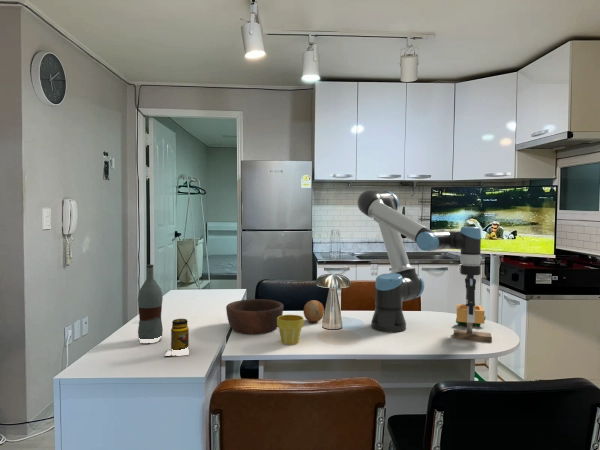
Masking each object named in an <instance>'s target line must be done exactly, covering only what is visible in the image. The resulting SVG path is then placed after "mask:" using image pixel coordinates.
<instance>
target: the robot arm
mask: <svg viewBox="0 0 600 450" xmlns="http://www.w3.org/2000/svg"><path fill="white" fill-rule="evenodd" d="M356 203H357V207H358V208H357V209H358V210H359V211H360V213H362V214H364V215H365V216H367V217H368V218H370V219H373V221H374V222H375V223H377V224H378V226H379V230H380V232H381V238H382V240H383V243H384V247H385V251H386V253H387V254H386V255H387V257H388V260H389V263H390V267H391V272H390V273H382V274H379V275H377V276H376V278H375V285H374V287H375V289H374V290H375V301H374V302H375V303H374V305H375V309H374V312H373V315H372V319H371V321H370V322H371V325H370V327H371V328H372V329H373V330H376V331H380V332H385V333H386V332H387V333H397V332H403V331H405V330H407V322H406V320H405V316H404V313H403V302H406V301H412V300H415V299H417V298H419V297H421V295H422V294H423V292H424V290H425V281H424V279H423V277H422V276H421V275H419V274H418V273H417V271H416V269H415V267H414V266H412V265H411V264H410V261H409V257H408V254H407V250H406V248H405V244H404V241H403V238H402V235H403V236H404V237H406V238H408V239H410V240H412V241H413V242H414V243H416V245H417V246H418V249H420V250H421V251H427V252H432V251H439V250H460V264H461V265H460V274H461V275H464V276H466V277H465V278H464V283H465V289H466V290H465V291H466V292H465V305H466V306H467V322H469V323H475V305H476V299H475V298H476V295H475V294H476V292H475V291H476V284H477V279H476V278H475V276H480V275H481V267H482V266H481V260H483V257H482V255H481V251H482V250H481V249H482V248H481V244H482V236H481V235H482V234H481V232H482V231H481V228H480V227H478V226H462V227H461V228H460V230H458V231H451V230H450V231H449V230H436V231H434V230H432V229H430V228H428V227H426V226H424V225H423V224H421V223H419V222H417V221H415V220H413V219H412V218H410V217H408V216H406V214H403V213H402V212H399V211H398V208H399V205H400V203H399V198H398V197H397V195H396V194H395V193H393V192H391V191H388V190H373V189H367V190H364V191H363V192H361V193H360V195H359V196H358V199H357V202H356Z"/></svg>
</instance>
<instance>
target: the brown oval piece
mask: <svg viewBox="0 0 600 450" xmlns="http://www.w3.org/2000/svg"><path fill="white" fill-rule="evenodd" d="M303 315H304V316H303V317H304V318H305V320H307V321H308V322H311V323H315V322H319V321H321V320H322V319H323V318H324V315H325V308H324V305H323V303H322V302H320V301H318V300H316V299H315V300H314V299H313V300H308V301H307V302H306V304H304V307H303Z"/></svg>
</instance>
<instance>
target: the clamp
mask: <svg viewBox="0 0 600 450" xmlns="http://www.w3.org/2000/svg"><path fill="white" fill-rule="evenodd" d="M486 319H487V317H486V315H484V321H486ZM455 323H456V324H458V326H466V327H467V322H457V317H456V320H455ZM473 325H475V326H477V327H478V328H480V327H481V324H480V323H472V326H473Z"/></svg>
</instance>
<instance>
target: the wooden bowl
mask: <svg viewBox="0 0 600 450" xmlns="http://www.w3.org/2000/svg"><path fill="white" fill-rule="evenodd" d="M225 309H226V310H225V311H226V316H227V320H228V324H229V326H230V328H231V329H232V330H233V331H234V332H236V333H239V334H247V335H258V334H261V335H262V334H267V333H270V332H273V331H275V330H277V329H279V327H277V317H278V316H281V315H284V314H283V313H284V303H282V302H280V301H278V300H273V299H260V298H253V299H250V298H249V299H241V300H236V301H231V302H230V303H228V304H227V305H226V307H225Z"/></svg>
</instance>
